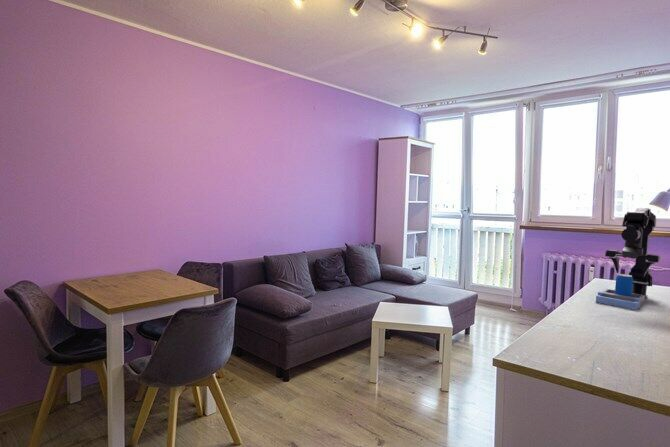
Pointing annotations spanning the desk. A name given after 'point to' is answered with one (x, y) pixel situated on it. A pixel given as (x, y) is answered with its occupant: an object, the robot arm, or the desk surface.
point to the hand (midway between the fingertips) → (630, 274)
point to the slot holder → (620, 299)
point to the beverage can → (624, 285)
